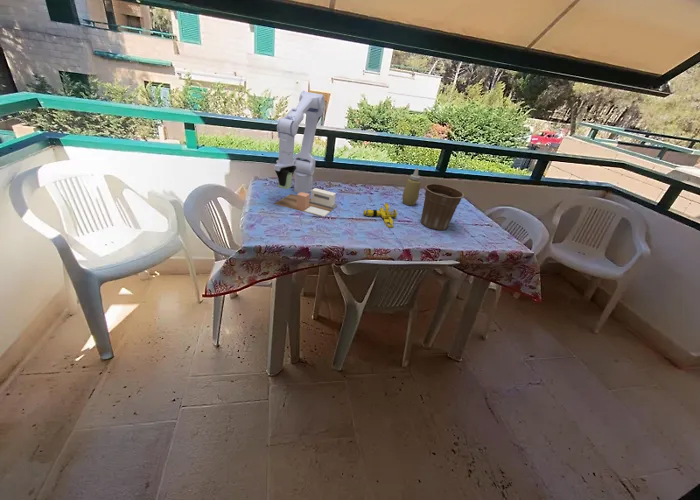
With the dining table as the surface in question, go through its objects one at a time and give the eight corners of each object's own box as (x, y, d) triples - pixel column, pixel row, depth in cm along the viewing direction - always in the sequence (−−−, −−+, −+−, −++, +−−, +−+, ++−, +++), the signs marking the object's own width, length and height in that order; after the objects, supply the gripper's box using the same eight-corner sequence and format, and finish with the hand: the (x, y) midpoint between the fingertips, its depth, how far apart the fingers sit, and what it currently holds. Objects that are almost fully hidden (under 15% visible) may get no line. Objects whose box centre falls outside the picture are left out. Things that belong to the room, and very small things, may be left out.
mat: (310, 207, 140) (310, 206, 139) (329, 212, 138) (329, 211, 137) (304, 211, 135) (304, 210, 134) (324, 217, 133) (324, 216, 132)
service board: (290, 195, 151) (290, 193, 150) (336, 208, 146) (337, 205, 145) (274, 205, 138) (274, 203, 138) (324, 219, 133) (324, 217, 133)
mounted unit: (312, 199, 148) (313, 186, 145) (337, 205, 145) (338, 193, 142) (308, 202, 144) (309, 189, 141) (333, 209, 141) (334, 196, 138)
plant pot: (459, 228, 146) (470, 193, 138) (440, 236, 135) (451, 199, 127) (429, 214, 155) (438, 181, 147) (409, 221, 144) (418, 186, 137)
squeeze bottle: (413, 208, 160) (422, 172, 151) (398, 203, 163) (406, 167, 154) (418, 204, 166) (427, 169, 157) (404, 199, 169) (412, 165, 160)
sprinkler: (361, 199, 147) (393, 201, 150) (360, 207, 150) (391, 208, 153) (369, 222, 132) (404, 224, 135) (367, 231, 135) (402, 232, 137)
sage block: (282, 184, 138) (283, 170, 135) (291, 186, 137) (292, 172, 134) (278, 187, 135) (278, 172, 132) (286, 189, 134) (287, 175, 131)
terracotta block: (300, 205, 140) (301, 191, 137) (308, 207, 139) (309, 194, 136) (296, 208, 137) (297, 194, 134) (304, 210, 136) (305, 196, 133)
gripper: (286, 146, 136) (284, 177, 142) (267, 152, 123) (267, 186, 130) (301, 149, 134) (299, 181, 141) (284, 156, 122) (282, 190, 129)
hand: (284, 184), depth 135 cm, fingers closed on sage block, 4 cm apart
